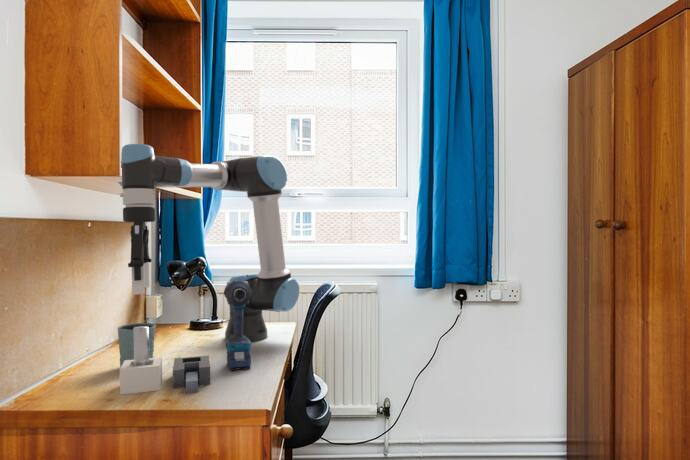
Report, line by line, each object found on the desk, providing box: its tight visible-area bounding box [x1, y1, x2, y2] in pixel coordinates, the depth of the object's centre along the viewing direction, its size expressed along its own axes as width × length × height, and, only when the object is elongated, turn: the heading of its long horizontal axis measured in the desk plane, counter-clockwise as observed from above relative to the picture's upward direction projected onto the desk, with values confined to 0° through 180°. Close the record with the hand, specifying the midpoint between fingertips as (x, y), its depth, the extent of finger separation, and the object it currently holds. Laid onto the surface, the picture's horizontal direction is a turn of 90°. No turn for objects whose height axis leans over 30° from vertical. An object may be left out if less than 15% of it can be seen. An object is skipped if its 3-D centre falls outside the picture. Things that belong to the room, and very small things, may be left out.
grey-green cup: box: [117, 322, 156, 369], centre depth 141 cm, size 10×10×12 cm
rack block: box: [119, 356, 163, 395], centre depth 123 cm, size 9×9×6 cm
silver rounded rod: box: [133, 326, 150, 366], centre depth 123 cm, size 4×4×15 cm
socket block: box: [172, 355, 212, 389], centre depth 128 cm, size 12×9×4 cm
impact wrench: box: [223, 280, 252, 371], centre depth 139 cm, size 8×23×25 cm, turn 15°
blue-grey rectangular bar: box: [185, 372, 199, 394], centre depth 122 cm, size 8×3×3 cm, turn 17°
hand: (141, 290), depth 123 cm, fingers open, 13 cm apart
